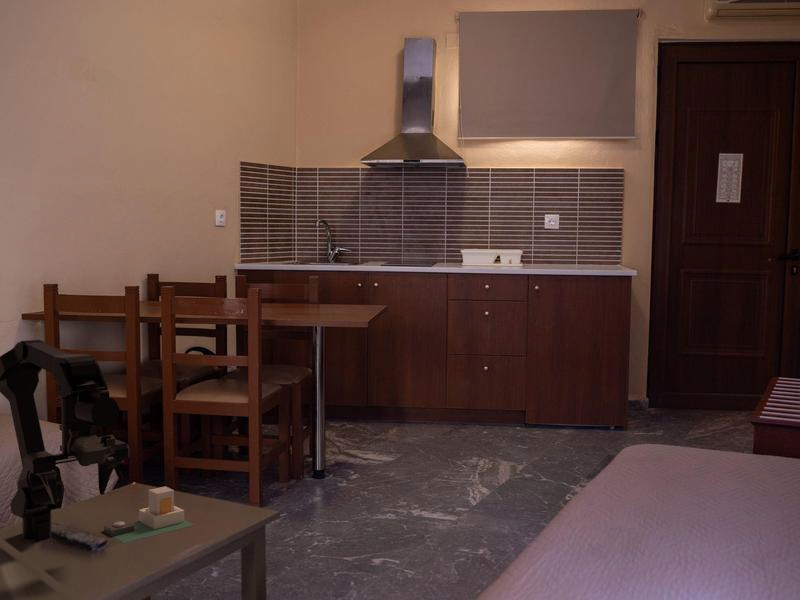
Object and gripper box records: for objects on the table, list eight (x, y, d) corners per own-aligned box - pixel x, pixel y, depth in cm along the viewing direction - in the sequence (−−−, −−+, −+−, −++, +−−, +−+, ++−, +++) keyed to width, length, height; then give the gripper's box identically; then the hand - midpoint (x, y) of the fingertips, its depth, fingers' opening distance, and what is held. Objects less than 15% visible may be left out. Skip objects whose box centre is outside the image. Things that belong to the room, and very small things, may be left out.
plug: (148, 521, 177) (148, 489, 177) (165, 517, 180) (165, 486, 179) (158, 526, 174) (157, 494, 173) (175, 521, 177) (174, 490, 176)
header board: (101, 534, 171) (101, 518, 171) (170, 517, 182) (170, 502, 182) (123, 547, 164) (123, 530, 163) (194, 529, 175) (193, 513, 175)
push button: (104, 530, 171) (103, 523, 171) (124, 525, 174) (124, 518, 174) (113, 536, 167) (113, 528, 167) (134, 530, 171) (134, 523, 171)
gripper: (43, 434, 144) (45, 520, 144) (142, 420, 156) (142, 498, 157) (21, 424, 152) (23, 505, 152) (116, 411, 164) (117, 486, 165)
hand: (78, 499), depth 157 cm, fingers open, 9 cm apart
